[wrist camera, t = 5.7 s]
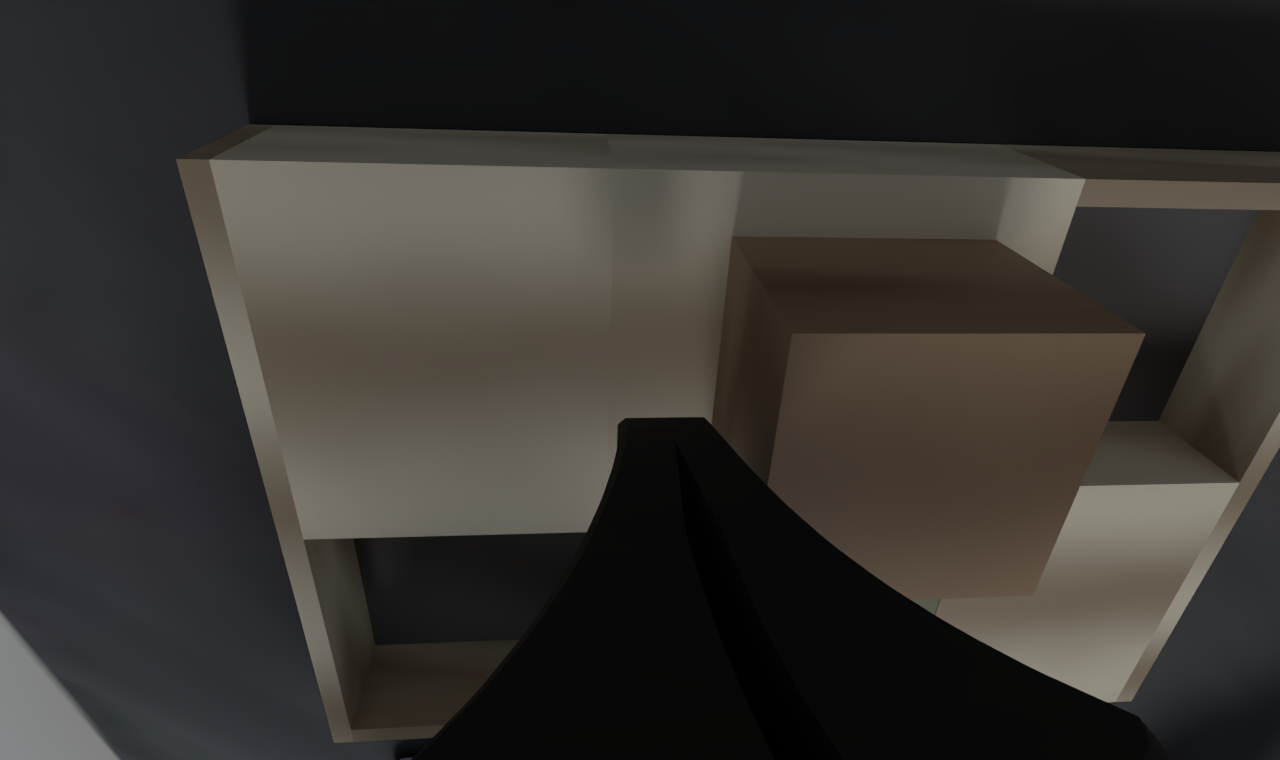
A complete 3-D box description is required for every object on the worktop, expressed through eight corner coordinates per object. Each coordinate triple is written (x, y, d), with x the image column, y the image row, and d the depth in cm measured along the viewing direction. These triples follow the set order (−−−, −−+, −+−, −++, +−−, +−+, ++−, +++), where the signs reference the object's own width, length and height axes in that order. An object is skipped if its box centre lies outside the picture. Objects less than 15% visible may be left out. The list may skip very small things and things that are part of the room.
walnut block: (931, 458, 16) (1032, 595, 12) (707, 462, 15) (748, 606, 12) (996, 239, 13) (1146, 333, 10) (731, 236, 13) (791, 334, 9)
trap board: (1069, 620, 24) (1131, 700, 21) (362, 649, 21) (334, 743, 19) (1292, 152, 16) (1431, 186, 14) (248, 123, 14) (175, 158, 11)
